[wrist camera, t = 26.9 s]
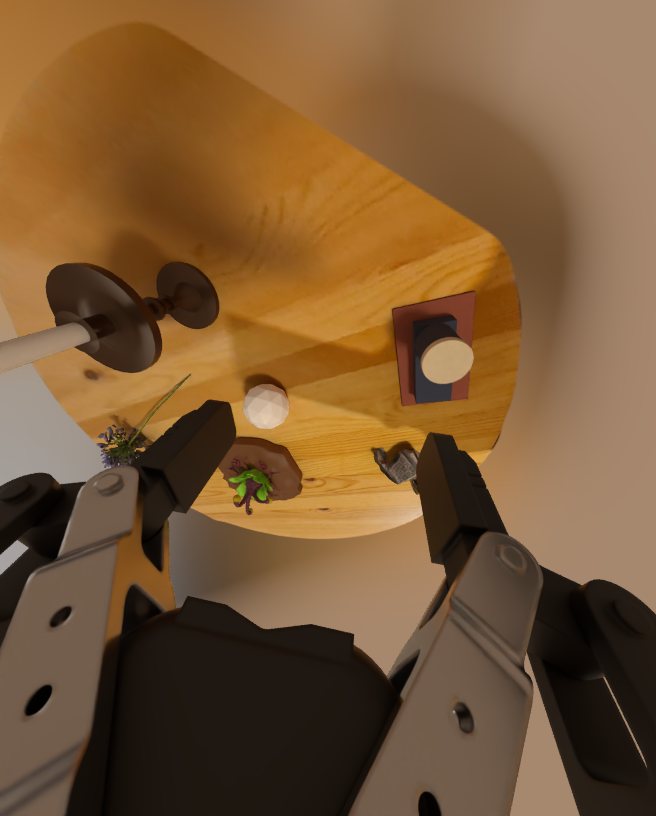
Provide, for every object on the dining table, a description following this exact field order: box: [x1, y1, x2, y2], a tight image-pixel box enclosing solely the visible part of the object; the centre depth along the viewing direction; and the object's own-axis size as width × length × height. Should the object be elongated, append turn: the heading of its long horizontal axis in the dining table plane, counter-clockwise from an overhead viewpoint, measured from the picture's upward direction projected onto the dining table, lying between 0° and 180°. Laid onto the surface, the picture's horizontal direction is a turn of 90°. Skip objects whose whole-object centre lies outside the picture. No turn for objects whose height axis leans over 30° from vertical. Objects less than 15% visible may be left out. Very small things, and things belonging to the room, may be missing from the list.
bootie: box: [412, 315, 474, 404], centre depth 32 cm, size 12×5×9 cm, turn 12°
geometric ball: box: [243, 384, 289, 429], centre depth 41 cm, size 8×8×8 cm
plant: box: [219, 438, 303, 515], centre depth 53 cm, size 20×20×11 cm
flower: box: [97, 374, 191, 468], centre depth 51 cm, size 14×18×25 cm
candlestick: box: [0, 262, 219, 373], centre depth 22 cm, size 11×11×35 cm
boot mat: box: [393, 291, 476, 406], centre depth 35 cm, size 16×10×1 cm, turn 15°
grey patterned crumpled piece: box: [374, 448, 420, 495], centre depth 46 cm, size 8×7×12 cm
